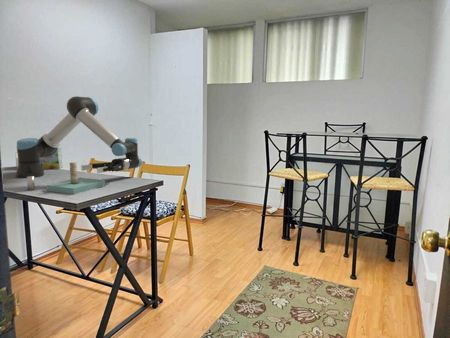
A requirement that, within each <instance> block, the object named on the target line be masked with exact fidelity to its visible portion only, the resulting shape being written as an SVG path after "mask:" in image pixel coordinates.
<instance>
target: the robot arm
mask: <svg viewBox="0 0 450 338" xmlns="http://www.w3.org/2000/svg"><path fill="white" fill-rule="evenodd" d="M66 110H67V111H68V114H66V116H65V117H63V119H62V120H60V121H59V123H57V124H56V126H54V127H53V128H52V130H50V132H48V133H45V134H44V133H43V135H42V136H40V137H39V139H38V138H37V137H27V138H20V139H19V140H17V141H16V152H17V154H18V167H16V173H15V177H16V178H21V179H22V178H24V179H25V178H26V179H27V177H28V176H34V178H36V177H41V176H45V171H44V169H43V168H42V166H41V164H40V157H45V156H51V155H54V154H55V153H56V152H57V151H58V148H60V143H61V142H62V141H63V140H64V139H65V138H66V137H67V136H68V135H69V134H70V133H71V132H72V131H73V130H74V129H75V128H76V127H77V126H78V125H79V124H80V123H82V125H84V126H85V127H86V128H87V129H89V130H90V131H91V132H92V133H93V134H95V136H96V137H98V138H99V139H100V141H102V142H103V143H104V144H106V145H107V146H108V147H109V148H110V149H111V153H112V154H113V155H114V156H115V157H119V158H114V159H112V160H111V161H108V162H97V163H96V162H95V163H92V162H91V163H89V164H85V165H80V167H81V171H88V170H91V171H92V170H93V169H96V173H97V174H102V173H106V172H120V171H123V172H125V171H126V170H130V169H131V170H132V169H136V168H139V167H141V166H142V165H143V163H142V162H143V161H142V158H141V157H140V155H139V154H138V153H139V152H138V150H139V149H138V139H137V138H136V137H126V138H125V139H124V141H123V140H122V139H120V138H119V137H118V136H117V135H116V134H115V133H114V132H113V131H112V130H111V129H109V128H108V127H107V126H106V125H105V124H103V123H102V122H101V120H99V119H98V118H97V117H95V115H97V114H98V111H99V103H98V102H97V101H96V100H95V99H94V98H92V97H89V96H87V97H85V96H72V97H70V98H69V99H68V100H67V102H66ZM123 156H125V157H123Z"/></svg>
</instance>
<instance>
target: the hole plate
mask: <svg viewBox="0 0 450 338" xmlns="http://www.w3.org/2000/svg"><path fill="white" fill-rule="evenodd" d="M77 182H78V184H75V185H73V184H71V179H69V180H64V181H59V182H55V183H54V182H53V183H50V184H47V185H46V189H47V191H48V192H54V193H61V194H69V195H76V194H80V192H81V193H83V192H87V190H88V191H90V190H94V189H97V188H101V187H105V186H106V180H105V179H103V180H102V179H96V178H87V177H77Z"/></svg>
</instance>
